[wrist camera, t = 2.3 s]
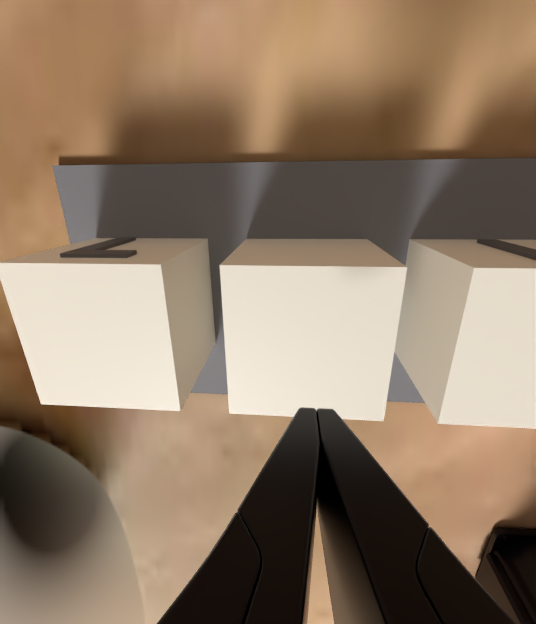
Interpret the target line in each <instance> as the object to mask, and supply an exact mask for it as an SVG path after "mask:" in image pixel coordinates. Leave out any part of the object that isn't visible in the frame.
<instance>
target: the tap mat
mask: <svg viewBox="0 0 536 624" xmlns="http://www.w3.org/2000/svg"><path fill="white" fill-rule="evenodd" d="M53 171H54V175H55V179H56V183H57V188H58V192H59V196H60V201H61V205H62V209H63V213H64V218H65V222H66V226H67V230H68V235H69V239H70V243H71V244H74V243H78V242H82V241H86V240H91V239H95V238H119V237H136V238H203V239H208V249H209V262H210V275H211V288H212V301H213V314H214V327H215V340H216V344H215V346H214V348H213V350H212V352H211V354H210V355H209V357H208V359H207V361H206V363H205V365H204V367H203V369H202V371H201V373H200V375H199V376H198V378H197V380H196V382H195V384H194V386H193V388H192V390H191V392H190V393H210V394H228V387H227V372H226V356H225V341H224V326H223V310H222V295H221V280H220V264H221V263H222V262H223V261H224V260H225V259H226V258H227V257H228V256H229V255H230V254H231V253H232V252H233V251H234V250H235V249H236V248H237V247H238V246H239V245H240V244H242V243H243V242H244V241H245V240H246V239H368V240H369V241H371V242H372V243H374V244H375V245H377V246H378V247H379V248H381V249H382V250H384V251H385V252H387V253H388V254H389V255H391V256H392V257H394V258H395V259H396V260H398V261H399V262H401V263H402V264H404V265H406V259H407V252H408V246H409V239H497V240H536V158H481V159H420V160H359V161H298V162H237V163H176V164H115V165H54V166H53ZM387 401H391V402H413V403H425V402H424V400H423V398H422V397H421V395H420V393H419V392H418V390H417V388H416V387H415V385H414V383H413V382H412V380H411V378H410V377H409V375H408V373H407V372H406V370H405V368H404V367H403V365H402V363H401V362H400V360H399V358H398V357H397V355H396V353H395V352H394V357H393V363H392V370H391V376H390V383H389V389H388V396H387Z"/></svg>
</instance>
